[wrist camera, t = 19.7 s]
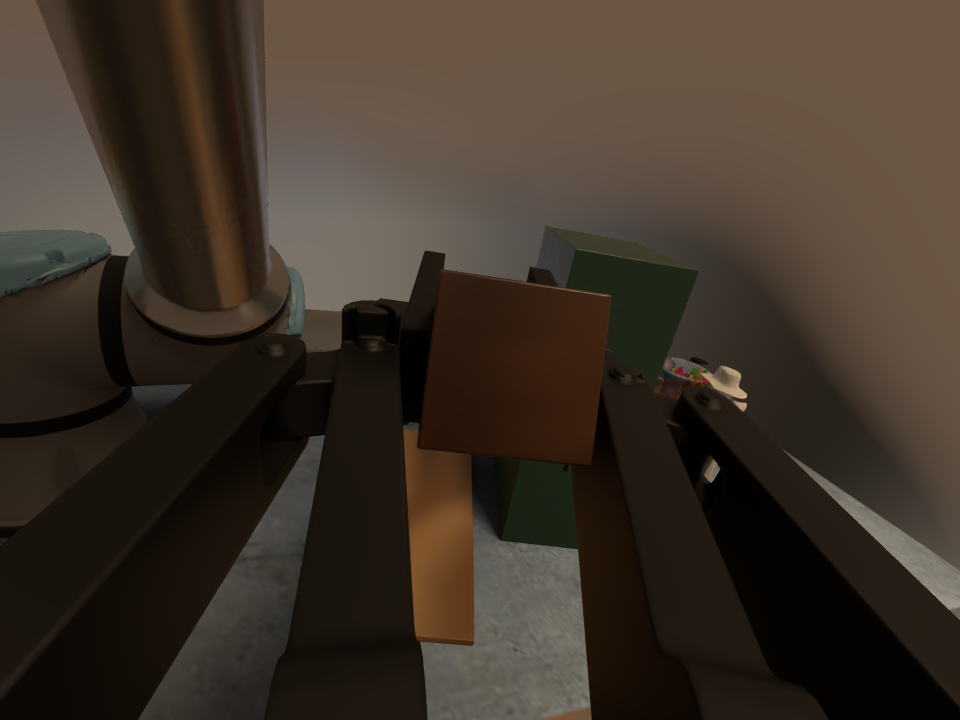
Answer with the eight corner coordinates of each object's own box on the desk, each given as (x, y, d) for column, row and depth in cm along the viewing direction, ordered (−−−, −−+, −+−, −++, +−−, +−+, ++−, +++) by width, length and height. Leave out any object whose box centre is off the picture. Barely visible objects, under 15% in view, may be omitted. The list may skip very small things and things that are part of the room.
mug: (658, 406, 81) (678, 354, 77) (701, 433, 74) (725, 378, 69) (612, 413, 75) (631, 357, 71) (654, 444, 68) (678, 384, 64)
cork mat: (291, 630, 33) (291, 625, 33) (368, 428, 58) (369, 424, 58) (473, 645, 34) (474, 640, 34) (470, 441, 60) (471, 437, 59)
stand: (500, 540, 44) (576, 248, 33) (493, 457, 57) (545, 226, 45) (593, 550, 45) (699, 270, 34) (565, 466, 58) (635, 242, 46)
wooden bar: (416, 449, 8) (439, 268, 8) (429, 383, 29) (435, 337, 29) (592, 468, 8) (613, 294, 8) (475, 389, 30) (481, 343, 30)
